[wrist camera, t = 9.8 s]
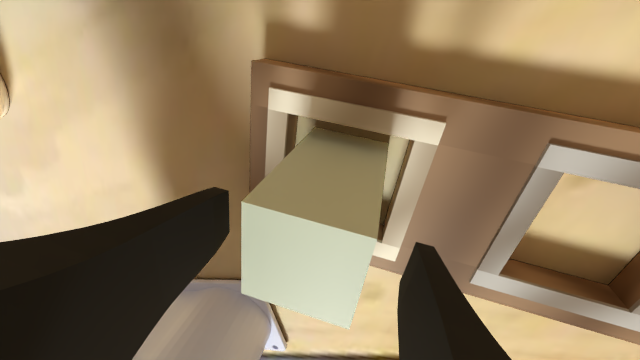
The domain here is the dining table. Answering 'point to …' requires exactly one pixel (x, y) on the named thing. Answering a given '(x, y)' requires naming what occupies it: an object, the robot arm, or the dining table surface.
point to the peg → (315, 226)
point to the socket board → (464, 182)
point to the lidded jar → (3, 98)
